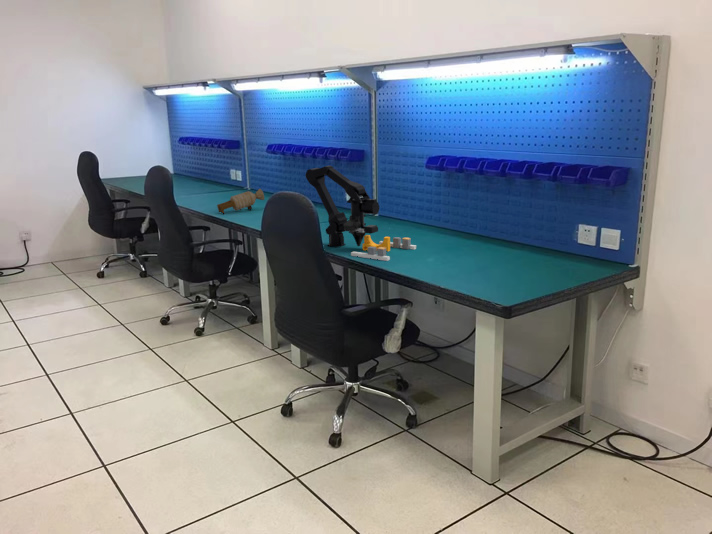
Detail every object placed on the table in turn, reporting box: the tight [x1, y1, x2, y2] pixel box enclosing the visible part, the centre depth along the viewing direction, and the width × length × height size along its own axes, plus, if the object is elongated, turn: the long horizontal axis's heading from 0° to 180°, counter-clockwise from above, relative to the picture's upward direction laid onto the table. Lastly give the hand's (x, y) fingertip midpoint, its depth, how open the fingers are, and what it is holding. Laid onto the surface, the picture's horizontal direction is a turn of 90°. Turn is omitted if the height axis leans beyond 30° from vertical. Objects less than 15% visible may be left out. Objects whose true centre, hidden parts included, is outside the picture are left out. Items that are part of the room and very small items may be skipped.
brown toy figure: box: [216, 188, 265, 214], centre depth 380 cm, size 10×12×30 cm
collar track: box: [350, 236, 417, 262], centre depth 263 cm, size 19×25×5 cm
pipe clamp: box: [361, 234, 391, 253], centre depth 267 cm, size 12×4×6 cm, turn 62°
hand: (358, 245), depth 271 cm, fingers closed
